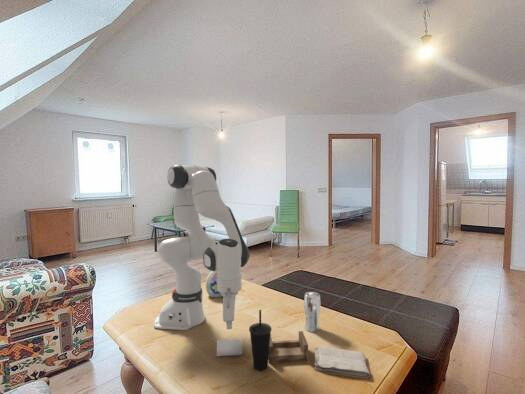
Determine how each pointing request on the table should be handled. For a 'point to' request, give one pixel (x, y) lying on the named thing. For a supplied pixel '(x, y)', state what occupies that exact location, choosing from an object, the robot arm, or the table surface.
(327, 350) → the washcloth
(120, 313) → the table surface
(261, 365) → the drinking cup
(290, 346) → the cradle
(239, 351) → the roll
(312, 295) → the silver tumbler
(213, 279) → the decorative egg
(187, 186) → the robot arm
